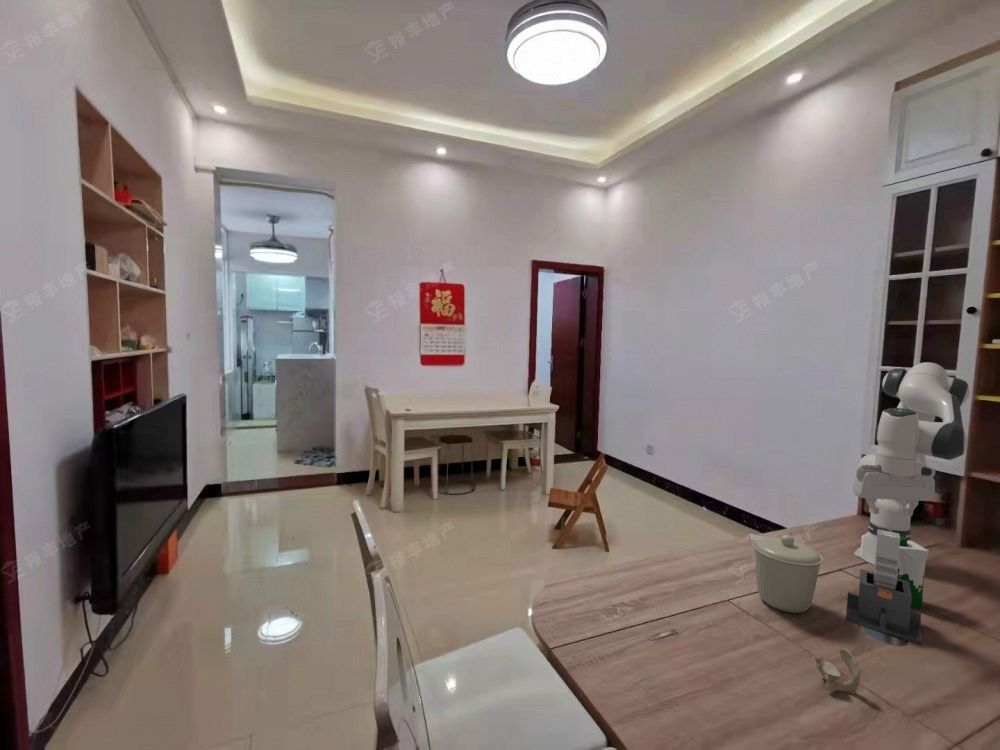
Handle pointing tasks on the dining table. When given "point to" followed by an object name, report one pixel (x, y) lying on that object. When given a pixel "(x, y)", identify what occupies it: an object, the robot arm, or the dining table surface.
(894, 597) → the stand
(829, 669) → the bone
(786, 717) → the dining table surface
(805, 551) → the canister
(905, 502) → the robot arm
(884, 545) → the column
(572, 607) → the dining table surface
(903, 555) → the milk carton
